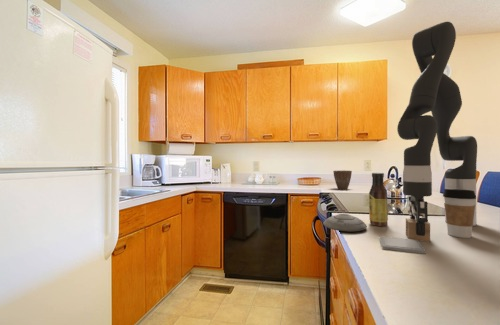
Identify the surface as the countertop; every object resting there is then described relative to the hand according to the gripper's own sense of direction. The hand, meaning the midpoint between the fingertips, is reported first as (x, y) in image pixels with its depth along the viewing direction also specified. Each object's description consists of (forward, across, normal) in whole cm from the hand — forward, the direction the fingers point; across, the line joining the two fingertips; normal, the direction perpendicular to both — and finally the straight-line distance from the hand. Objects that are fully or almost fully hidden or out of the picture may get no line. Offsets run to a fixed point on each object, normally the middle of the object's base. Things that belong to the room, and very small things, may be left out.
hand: (417, 231), depth 79 cm
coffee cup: (+2, +8, -13) cm, 16 cm away
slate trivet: (+2, -10, +6) cm, 11 cm away
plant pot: (+1, +135, +28) cm, 138 cm away
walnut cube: (+2, 0, 0) cm, 2 cm away
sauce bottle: (+2, +14, +10) cm, 18 cm away
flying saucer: (+3, +5, +22) cm, 22 cm away
